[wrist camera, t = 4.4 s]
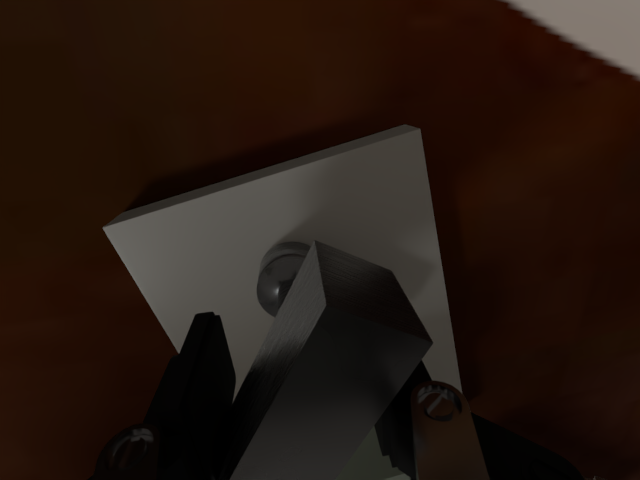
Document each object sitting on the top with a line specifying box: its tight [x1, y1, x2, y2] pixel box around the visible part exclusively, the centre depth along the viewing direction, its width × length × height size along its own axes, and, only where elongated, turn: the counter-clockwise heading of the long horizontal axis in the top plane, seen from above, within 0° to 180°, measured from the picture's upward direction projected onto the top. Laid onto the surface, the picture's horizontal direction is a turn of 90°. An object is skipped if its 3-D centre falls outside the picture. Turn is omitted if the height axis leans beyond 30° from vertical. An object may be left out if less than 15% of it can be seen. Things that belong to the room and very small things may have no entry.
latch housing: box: [103, 124, 462, 401], centre depth 19 cm, size 20×14×2 cm
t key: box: [218, 240, 433, 480], centre depth 12 cm, size 7×8×9 cm
